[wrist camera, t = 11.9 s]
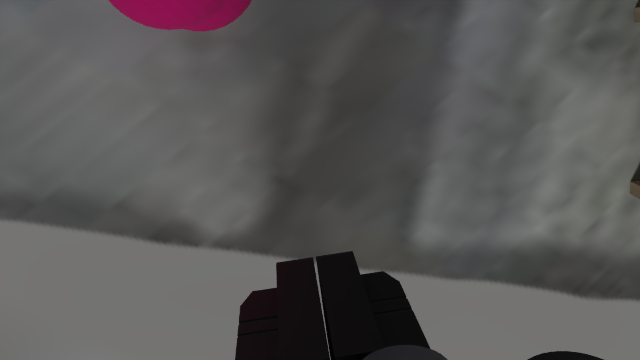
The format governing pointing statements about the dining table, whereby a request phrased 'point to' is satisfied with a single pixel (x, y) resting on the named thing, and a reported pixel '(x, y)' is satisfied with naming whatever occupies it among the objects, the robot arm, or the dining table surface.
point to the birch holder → (636, 189)
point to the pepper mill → (182, 13)
